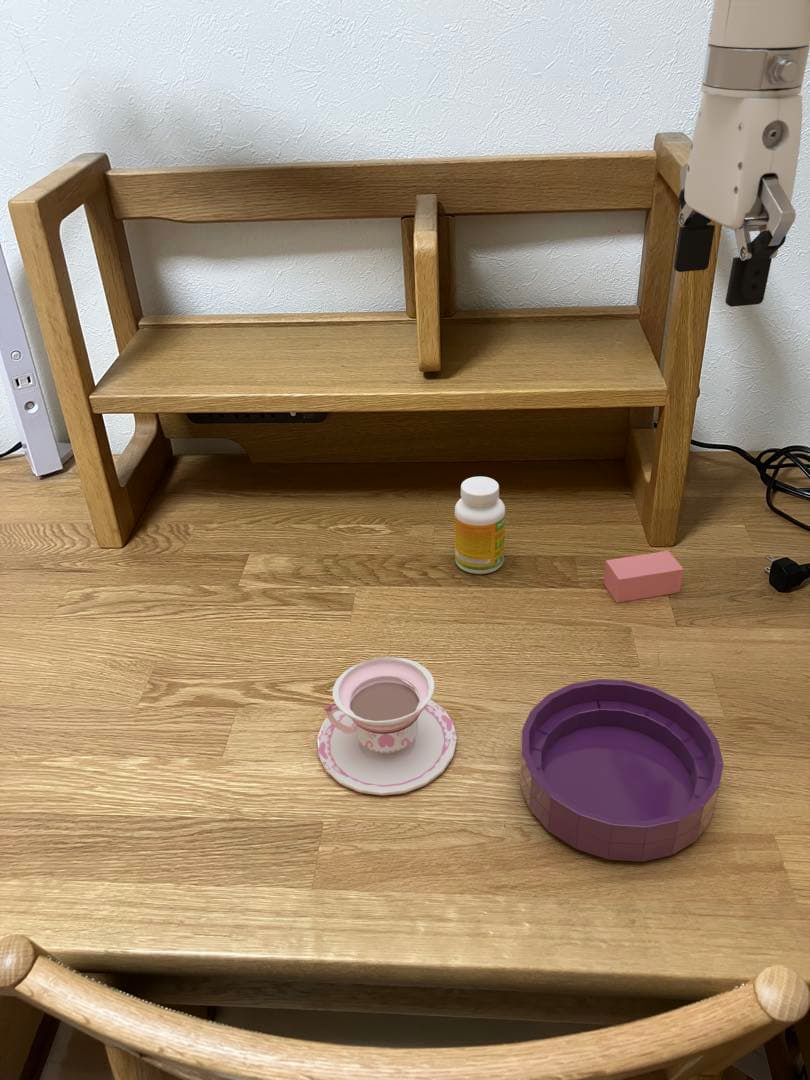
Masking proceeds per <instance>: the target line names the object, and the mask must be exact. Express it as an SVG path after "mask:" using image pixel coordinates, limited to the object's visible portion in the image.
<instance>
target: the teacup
mask: <svg viewBox="0 0 810 1080" xmlns="http://www.w3.org/2000/svg"><path fill="white" fill-rule="evenodd" d="M434 693H435V679H434V677H433V675H432V673H431V672H430V670H429V669H427V667H425V666H424V665H422V664H420V663H418V662H416V661H414V660H411V659H408V658H404V657H397V656H396V657H395V656H386V657H385V656H384V657H376V658H371V659H367V660H364V661H361V662H359V663H357V664H355V665H352V666H351V667H349V668H347V669H346V670H345V671H344V672H342V673H341V674H340V675H339V677H338V678H337V679H336V681H335V683H334V685H333V687H332V699H333V702H334V703H333V704H328V705H327V706H325V707H324V708H323V711H325V712H326V714H327V717H326V718H325V719H324V721H322V724H321V727H320V729H319V732H318V734H317V736H316V737H317V741H316V742H317V757H318V758H319V760H320V762H321V764H322V767H323V769H324V771H325V773H327V774H328V775H329V776H331V778H333V780H335V781H336V782H337V783H338V784H339V785H341V786H343V787H346V788H348V789H351V790H353V791H355V792H358V793H359V794H360V793H361V794H368V795H374V796H375V795H376V796H390V795H400V794H406V793H410V792H411V791H414V790H416V789H419V788H422V787H425V786H427V785H428V784H430V783H431V782H432V781H434V780H435V779H437V777H439V776H440V775H441V774H443V773H444V772H445V770H446V769H447V767H448V765H449V764H450V763H451V761H453V758H454V756H455V751H456V746H457V742H458V737H457V732H456V728H455V723H454V721H453V720H452V718H451V717H450V715H449V713H448V712H447V711H446V710H445V708H444V707H442V706H441V705H440V704H438V703H436V701H434V700H433V699H432V697H433V696H434Z"/></svg>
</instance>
